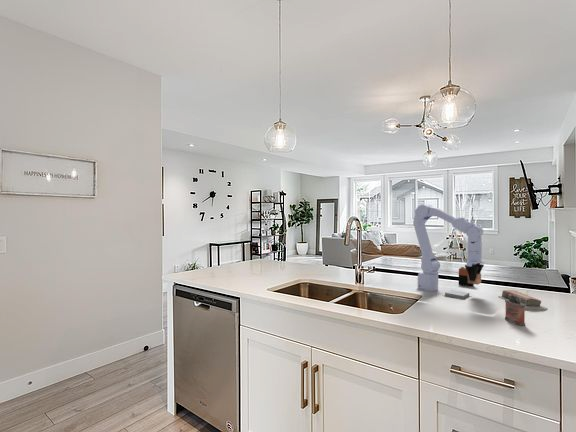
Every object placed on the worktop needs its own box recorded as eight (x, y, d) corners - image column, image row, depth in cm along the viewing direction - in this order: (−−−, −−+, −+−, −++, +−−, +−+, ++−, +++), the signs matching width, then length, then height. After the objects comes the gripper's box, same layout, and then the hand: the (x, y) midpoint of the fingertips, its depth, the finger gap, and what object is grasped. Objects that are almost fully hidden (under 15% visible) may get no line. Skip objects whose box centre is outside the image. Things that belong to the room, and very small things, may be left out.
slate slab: (444, 295, 157) (444, 292, 157) (451, 292, 163) (451, 289, 163) (462, 299, 151) (462, 295, 151) (469, 296, 157) (469, 292, 157)
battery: (472, 286, 179) (472, 268, 179) (458, 285, 184) (458, 267, 183) (473, 285, 183) (474, 267, 182) (460, 283, 187) (460, 266, 187)
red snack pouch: (502, 318, 126) (502, 292, 126) (510, 318, 126) (511, 292, 126) (518, 326, 118) (519, 298, 118) (527, 326, 118) (528, 298, 118)
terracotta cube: (467, 283, 157) (467, 273, 157) (470, 281, 160) (471, 272, 160) (477, 284, 154) (477, 275, 154) (481, 283, 157) (481, 273, 157)
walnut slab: (441, 298, 157) (442, 295, 157) (450, 295, 164) (450, 292, 164) (464, 303, 150) (464, 300, 150) (472, 299, 157) (472, 296, 157)
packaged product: (497, 289, 156) (519, 289, 155) (497, 299, 156) (519, 299, 155) (523, 299, 138) (548, 299, 137) (523, 310, 138) (548, 311, 137)
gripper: (478, 253, 149) (478, 283, 149) (489, 250, 159) (488, 279, 159) (461, 251, 154) (461, 281, 154) (472, 249, 164) (472, 276, 164)
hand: (474, 279), depth 157 cm, fingers closed on terracotta cube, 4 cm apart
